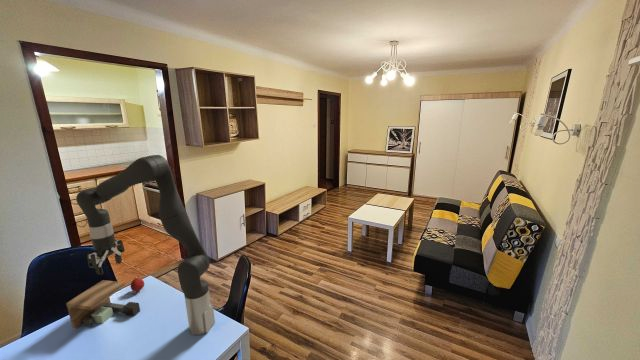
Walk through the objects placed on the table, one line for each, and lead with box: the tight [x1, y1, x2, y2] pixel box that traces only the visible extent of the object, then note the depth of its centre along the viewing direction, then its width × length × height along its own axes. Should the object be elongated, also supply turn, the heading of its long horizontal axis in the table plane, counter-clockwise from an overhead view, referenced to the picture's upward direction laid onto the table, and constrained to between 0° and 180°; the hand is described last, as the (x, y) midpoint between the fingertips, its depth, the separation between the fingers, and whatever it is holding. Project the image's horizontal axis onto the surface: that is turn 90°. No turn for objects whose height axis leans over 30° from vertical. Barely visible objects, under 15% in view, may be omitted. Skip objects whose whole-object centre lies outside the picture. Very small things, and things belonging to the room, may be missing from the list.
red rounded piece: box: [130, 276, 145, 292], centre depth 135 cm, size 6×6×8 cm
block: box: [92, 307, 114, 324], centre depth 117 cm, size 5×5×4 cm
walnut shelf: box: [65, 279, 126, 330], centre depth 117 cm, size 12×16×12 cm
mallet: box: [81, 301, 141, 328], centre depth 117 cm, size 18×12×4 cm
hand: (110, 268), depth 115 cm, fingers open, 8 cm apart
